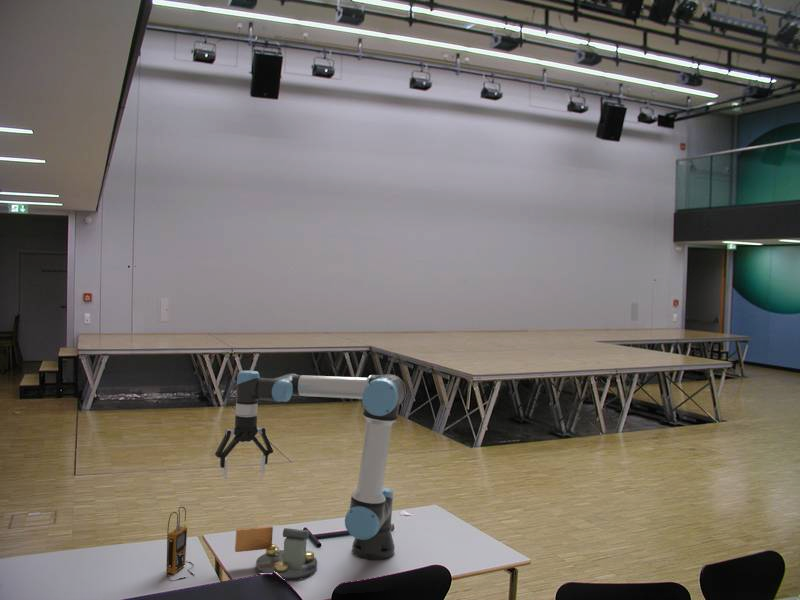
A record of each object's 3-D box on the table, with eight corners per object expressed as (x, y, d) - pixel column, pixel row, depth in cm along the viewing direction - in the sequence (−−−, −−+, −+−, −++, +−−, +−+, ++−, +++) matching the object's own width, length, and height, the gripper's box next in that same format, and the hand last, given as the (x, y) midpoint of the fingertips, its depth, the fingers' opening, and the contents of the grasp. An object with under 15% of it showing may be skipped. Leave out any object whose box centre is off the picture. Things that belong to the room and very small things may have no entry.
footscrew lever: (277, 551, 240) (278, 523, 240) (280, 556, 236) (281, 528, 236) (233, 555, 234) (235, 527, 234) (236, 560, 230) (237, 532, 230)
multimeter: (189, 583, 217) (192, 519, 216) (159, 579, 219) (162, 515, 218) (211, 565, 231) (214, 505, 231) (183, 561, 233) (186, 501, 233)
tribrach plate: (322, 559, 242) (323, 547, 242) (308, 583, 222) (309, 571, 222) (266, 553, 244) (266, 541, 244) (247, 576, 224) (248, 564, 224)
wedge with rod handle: (308, 562, 233) (310, 527, 233) (303, 569, 227) (305, 533, 227) (284, 560, 234) (286, 525, 234) (279, 567, 228) (281, 531, 228)
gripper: (276, 411, 256) (273, 469, 257) (208, 414, 244) (205, 475, 244) (283, 415, 250) (281, 474, 250) (213, 418, 237) (210, 481, 238)
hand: (243, 475), depth 247 cm, fingers open, 13 cm apart
